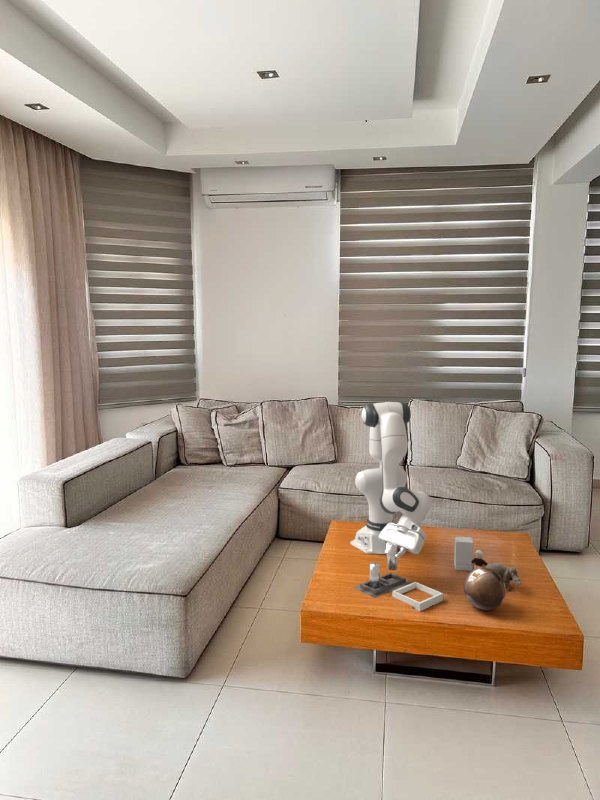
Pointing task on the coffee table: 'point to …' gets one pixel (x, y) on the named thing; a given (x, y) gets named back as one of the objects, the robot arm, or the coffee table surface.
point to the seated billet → (374, 575)
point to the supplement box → (463, 553)
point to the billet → (391, 556)
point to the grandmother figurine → (478, 560)
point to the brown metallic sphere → (484, 588)
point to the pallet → (384, 585)
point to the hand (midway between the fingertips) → (391, 555)
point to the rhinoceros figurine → (505, 573)
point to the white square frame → (416, 605)
